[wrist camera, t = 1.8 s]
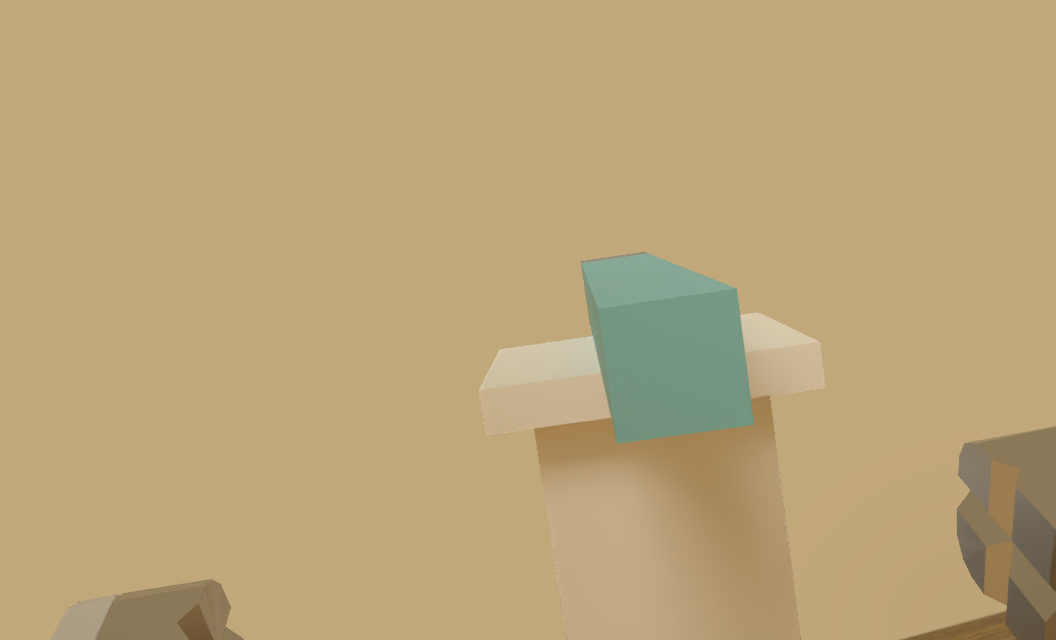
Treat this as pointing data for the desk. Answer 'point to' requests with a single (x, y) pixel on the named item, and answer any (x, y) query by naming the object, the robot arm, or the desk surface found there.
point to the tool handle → (666, 348)
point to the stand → (659, 497)
